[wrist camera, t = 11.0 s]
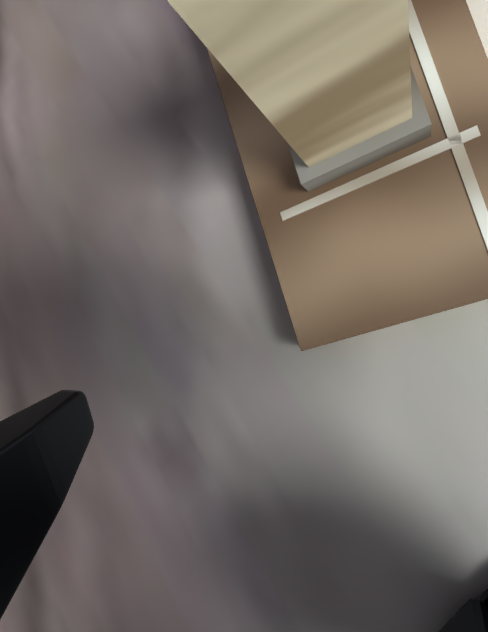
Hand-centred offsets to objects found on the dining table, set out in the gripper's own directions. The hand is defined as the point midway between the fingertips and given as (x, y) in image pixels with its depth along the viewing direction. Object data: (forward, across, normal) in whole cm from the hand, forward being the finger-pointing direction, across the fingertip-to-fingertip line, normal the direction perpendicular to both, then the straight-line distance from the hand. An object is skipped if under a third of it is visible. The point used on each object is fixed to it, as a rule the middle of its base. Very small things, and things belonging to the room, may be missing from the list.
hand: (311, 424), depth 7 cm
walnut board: (+16, 0, -7) cm, 17 cm away
